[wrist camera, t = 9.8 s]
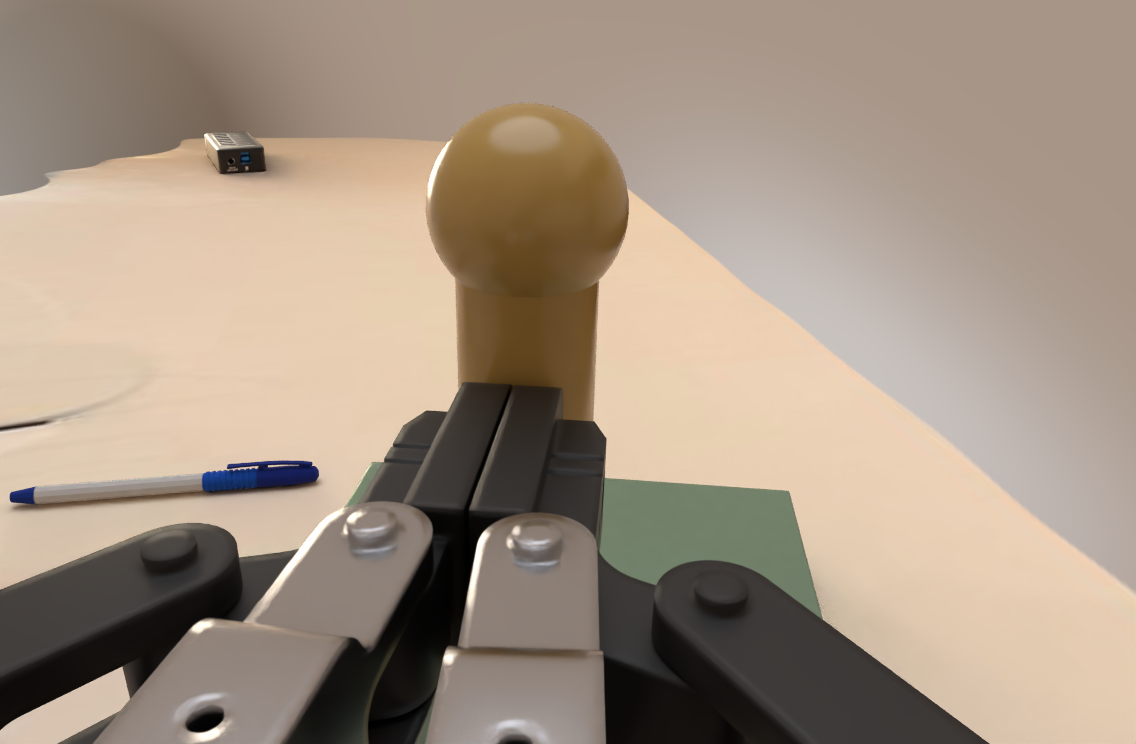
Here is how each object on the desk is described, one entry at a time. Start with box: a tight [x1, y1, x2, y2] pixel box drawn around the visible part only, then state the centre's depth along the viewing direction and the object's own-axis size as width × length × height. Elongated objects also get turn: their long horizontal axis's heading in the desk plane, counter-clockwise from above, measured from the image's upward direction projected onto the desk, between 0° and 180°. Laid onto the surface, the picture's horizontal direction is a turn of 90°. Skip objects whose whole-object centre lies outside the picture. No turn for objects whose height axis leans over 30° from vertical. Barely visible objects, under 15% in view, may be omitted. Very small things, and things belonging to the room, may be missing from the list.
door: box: [344, 462, 823, 620], centre depth 19 cm, size 14×22×5 cm, turn 175°
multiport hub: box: [205, 132, 266, 173], centre depth 90 cm, size 4×11×2 cm, turn 27°
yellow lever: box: [426, 103, 629, 421], centre depth 12 cm, size 3×11×13 cm, turn 175°
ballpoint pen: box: [10, 461, 319, 504], centre depth 32 cm, size 10×1×1 cm, turn 103°
